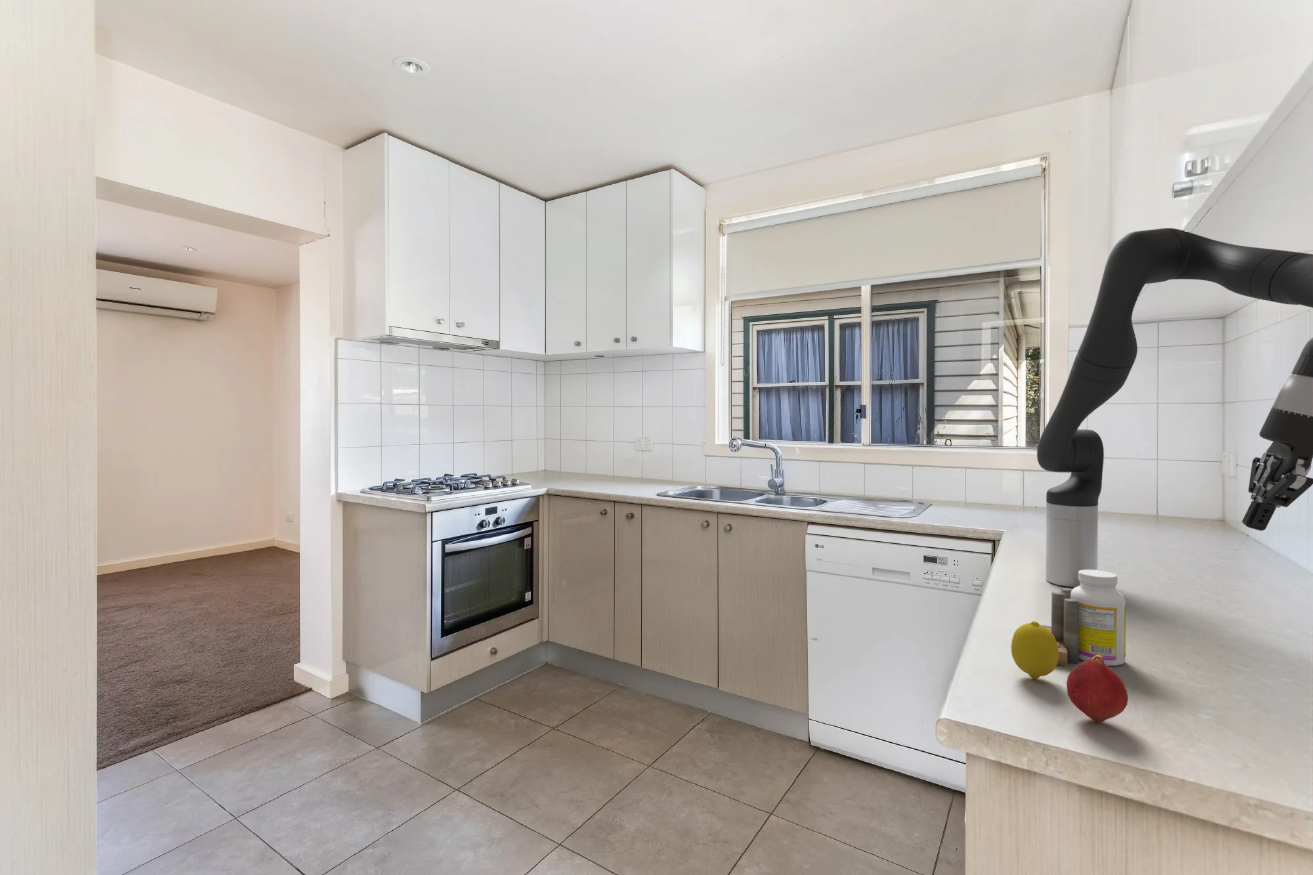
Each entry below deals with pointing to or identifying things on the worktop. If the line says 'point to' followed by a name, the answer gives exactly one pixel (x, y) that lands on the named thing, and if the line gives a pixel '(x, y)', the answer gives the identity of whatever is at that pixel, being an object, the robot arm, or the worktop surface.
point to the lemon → (1034, 650)
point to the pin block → (1065, 626)
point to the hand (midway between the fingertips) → (1252, 527)
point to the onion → (1097, 690)
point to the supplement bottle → (1100, 617)
